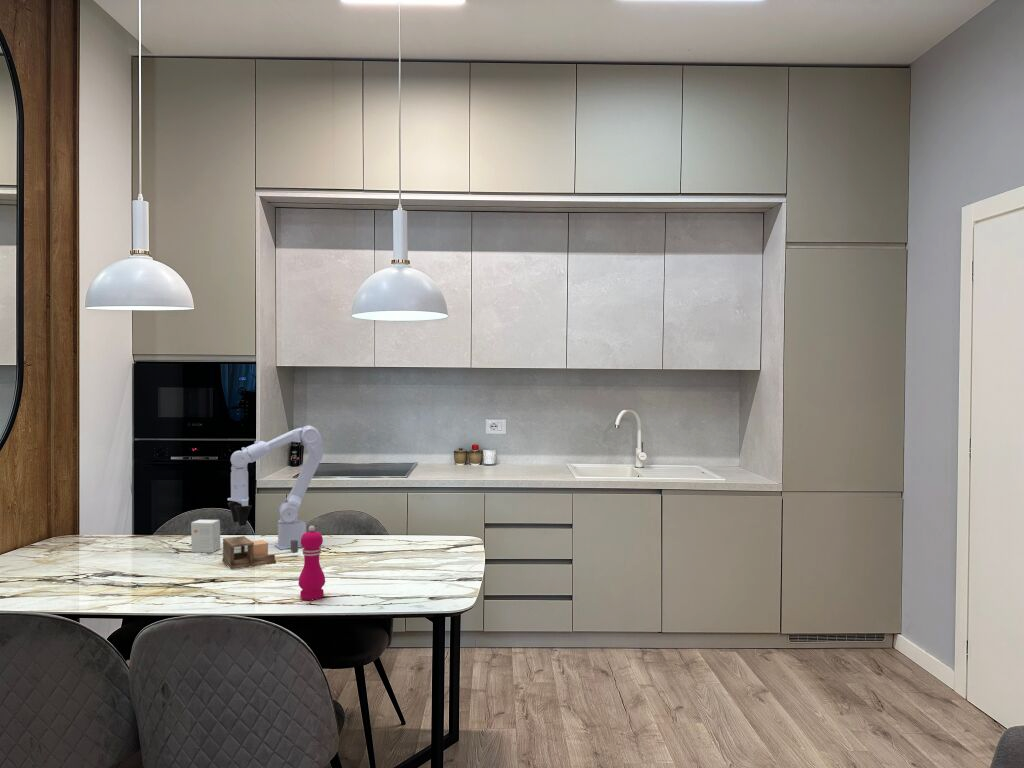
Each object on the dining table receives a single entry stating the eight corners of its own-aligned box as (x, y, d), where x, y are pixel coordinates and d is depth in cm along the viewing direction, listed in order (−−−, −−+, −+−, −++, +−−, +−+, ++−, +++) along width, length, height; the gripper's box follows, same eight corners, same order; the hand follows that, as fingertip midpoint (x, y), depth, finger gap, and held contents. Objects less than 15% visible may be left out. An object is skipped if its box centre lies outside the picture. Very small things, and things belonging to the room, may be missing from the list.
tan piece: (293, 550, 259) (293, 536, 259) (299, 553, 254) (299, 539, 254) (247, 556, 250) (247, 541, 250) (252, 560, 245) (252, 545, 245)
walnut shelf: (265, 555, 257) (264, 533, 257) (275, 563, 247) (275, 540, 247) (222, 561, 249) (222, 538, 249) (231, 569, 239) (231, 545, 239)
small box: (220, 549, 266) (220, 519, 266) (213, 553, 261) (212, 522, 261) (199, 548, 267) (199, 519, 267) (191, 552, 261) (190, 522, 261)
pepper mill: (301, 593, 213) (301, 523, 213) (327, 593, 213) (326, 522, 213) (296, 601, 206) (295, 528, 205) (323, 600, 206) (322, 528, 206)
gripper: (222, 483, 268) (222, 521, 268) (233, 488, 256) (233, 528, 256) (242, 481, 272) (243, 519, 272) (254, 486, 260) (254, 526, 260)
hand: (239, 523), depth 264 cm, fingers open, 7 cm apart
